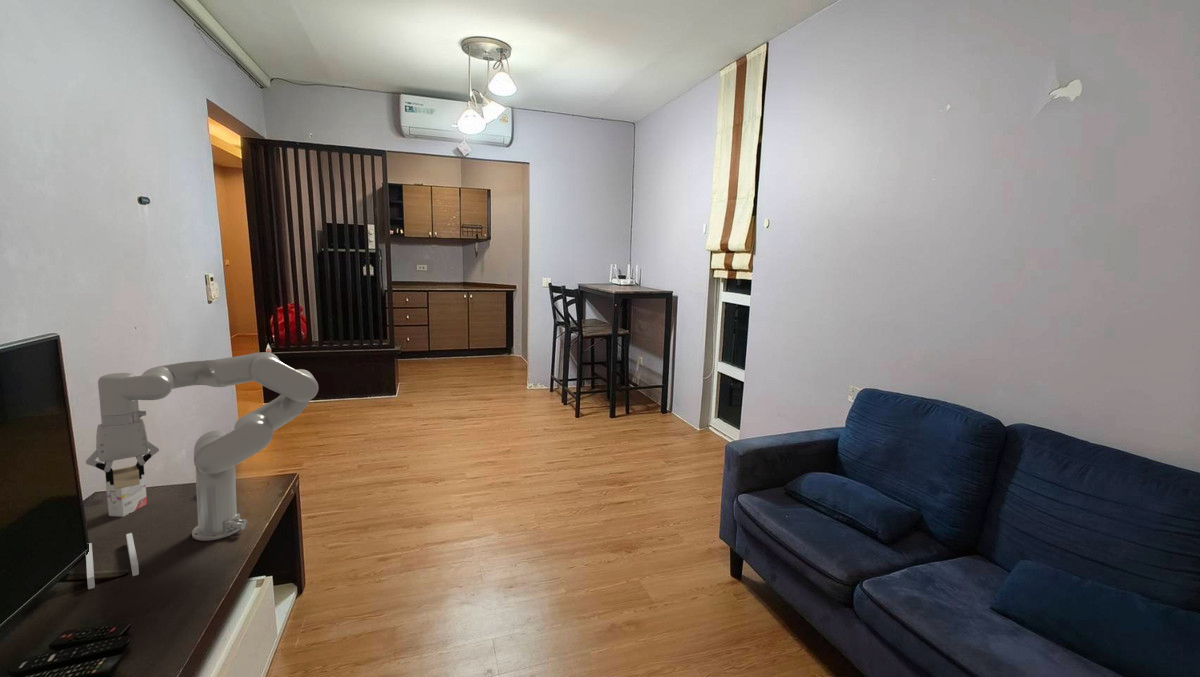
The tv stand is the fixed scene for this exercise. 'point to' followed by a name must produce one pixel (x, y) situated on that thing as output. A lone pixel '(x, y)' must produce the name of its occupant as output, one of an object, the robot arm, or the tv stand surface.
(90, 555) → the frosted channel
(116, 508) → the ink cartridge box
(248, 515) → the tv stand surface
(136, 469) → the maple block
